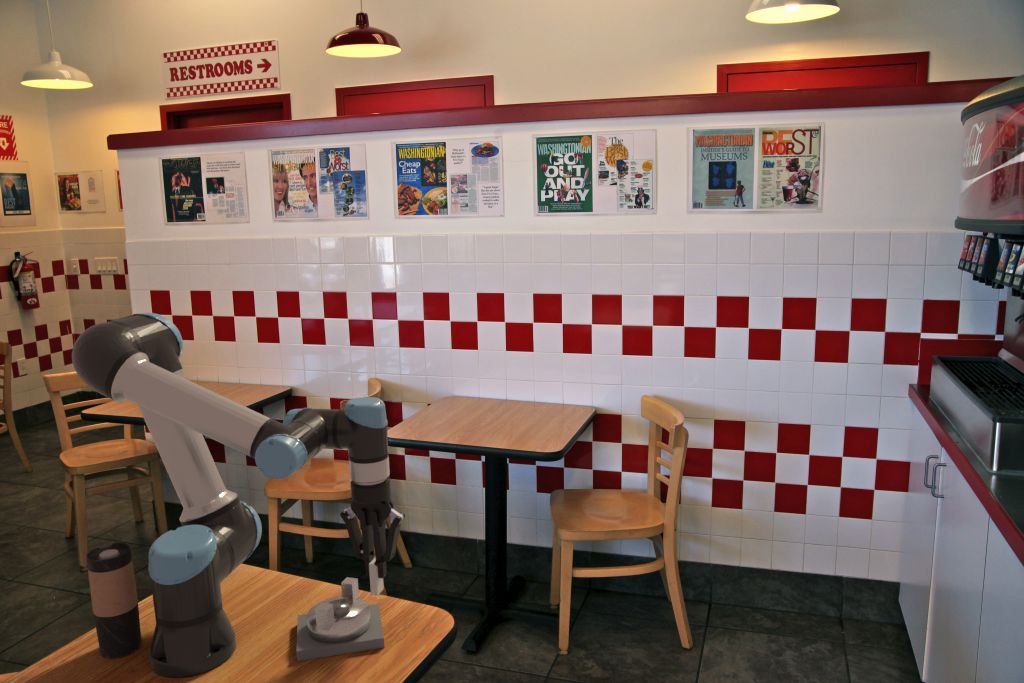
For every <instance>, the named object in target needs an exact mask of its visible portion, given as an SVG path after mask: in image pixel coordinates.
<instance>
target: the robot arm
mask: <svg viewBox="0 0 1024 683" xmlns="http://www.w3.org/2000/svg"><path fill="white" fill-rule="evenodd" d="M72 347H73V348H72V352H71V362H72V366H73V369H74V371H75V372H76V375H77V377H79V378H80V379H81V381H82V382H83V383H84V384H85V385H86V386H88V387H89V388H90V389H92V390H94V391H95V392H97V393H99V395H102V396H104V397H106V398H109V399H111V400H113V401H115V402H117V403H123V402H126V401H129V402H131V403H133V404H135V405H137V407H138V408H139V411H140V413H141V415H142V417H143V420H144V423H145V424H146V427H147V429H148V431H149V434H150V435H151V438H152V440H153V442H154V445H155V447H156V449H157V451H158V454H159V456H160V458H161V461H162V463H163V466H164V467H165V470H166V472H167V474H168V476H169V479H170V480H171V483H172V486H173V487H174V490H175V492H176V495H177V497H178V499H179V501H180V503H181V505H182V507H183V509H182V512H181V515H180V516H179V522H180V524H181V526H178V527H177V528H176V529H175V530H173V529H170V530H168V531H166V532H165V533H163V534H161V535H160V536H159V537H158V538H156V539H155V541H154V542H153V543H152V544H151V546H150V548H149V551H148V566H147V569H148V570H147V571H148V575H149V579H150V585H151V592H152V593H151V594H152V601H153V609H154V616H155V627H154V631H153V635H152V639H151V642H150V646H149V651H148V654H149V662H150V663H149V664H150V668H151V670H152V671H154V672H155V673H156V674H158V675H160V676H163V677H169V678H170V677H171V678H185V677H189V676H190V677H191V676H195V675H199V674H202V673H204V672H205V673H206V672H207V671H210V670H213V669H215V668H216V667H219V666H220V665H222V664H223V663H224V662H226V661H227V660H228V659H230V657H231V656H232V655H233V654H234V652H235V650H236V648H237V638H236V632H235V629H234V627H233V626H232V623H231V621H230V620H229V617H228V616H227V614H226V611H225V610H224V608H223V607H224V606H223V599H222V588H221V584H222V582H223V581H224V580H225V579H226V578H228V576H230V575H231V574H232V572H234V571H235V570H236V569H237V568H238V567H239V566H240V565H241V564H242V563H244V562H245V561H247V560H248V559H249V558H250V557H251V555H252V554H253V552H254V551H255V550H256V548H257V547H258V545H259V544H260V540H261V538H262V532H263V530H262V529H263V528H262V526H263V525H262V521H261V518H260V517H259V514H258V513H257V510H255V508H253V507H252V506H251V505H250V506H249V505H248V504H247V503H246V502H245V501H242V500H240V498H239V496H238V494H237V493H236V492H234V491H231V490H229V489H227V488H226V486H225V484H224V481H223V479H222V477H221V475H220V473H219V470H218V467H217V466H216V463H215V460H214V458H213V456H212V454H211V452H210V449H209V446H208V444H207V442H206V440H205V437H206V438H209V439H211V440H214V441H216V442H218V443H220V444H222V445H224V446H227V447H228V448H231V449H233V450H235V451H238V452H240V453H242V454H243V455H246V456H248V457H250V458H252V459H254V460H255V465H256V467H257V469H258V470H259V471H260V472H261V473H262V474H263V476H265V477H267V478H268V479H271V480H284V479H286V478H289V477H291V476H292V475H294V474H295V473H298V472H299V471H300V470H302V469H303V467H304V466H305V465H306V464H307V463H308V462H309V461H310V460H311V459H313V458H314V457H315V456H317V455H318V454H319V453H320V452H322V451H323V450H326V449H327V450H347V454H348V464H349V466H348V468H349V479H350V480H351V481H350V495H351V500H352V501H351V503H350V506H348V507H346V508H345V509H344V510H342V511H341V512H340V514H339V516H340V518H341V519H342V521H343V522H344V523H345V527H346V530H347V533H348V536H349V540H350V544H351V547H352V551H353V554H354V556H355V558H356V559H359V560H360V559H361V560H363V562H364V567H365V576H366V577H367V578H369V584H370V587H369V588H370V595H371V596H379V595H380V594H381V593H382V591H383V590H384V589H385V586H384V578H385V577H386V576H387V563H389V562H390V561H391V560H392V559H393V558H394V556H396V552H397V546H398V541H399V540H398V539H399V535H400V534H399V533H400V530H401V524H402V522H403V521H404V519H405V518H406V514H405V513H404V512H398V511H397V510H396V509H394V507H395V506H394V505H393V503H392V500H391V498H392V497H391V496H392V492H391V491H392V489H391V486H392V485H391V478H390V474H391V473H390V472H391V470H390V457H389V440H388V439H389V438H388V424H389V423H388V419H387V412H386V403H385V402H384V401H383V400H382V398H381V399H380V398H378V397H373V396H364V397H355V398H352V399H349V400H348V401H347V402H346V403H345V405H344V409H339V408H336V409H333V408H331V409H329V408H311V407H303V408H294V409H290V410H289V411H287V413H286V414H285V417H284V418H283V421H282V422H280V421H277V420H275V419H273V418H271V417H268V416H266V415H264V414H262V413H260V412H258V411H255V410H253V409H251V408H249V407H247V406H245V405H242V404H240V403H238V402H236V401H234V400H232V399H230V398H228V397H226V396H223V395H221V394H219V393H217V392H215V391H212V390H210V389H208V388H206V387H204V386H202V385H200V384H198V383H196V382H193V381H191V380H189V379H187V378H184V377H183V376H182V374H183V372H184V368H183V366H182V363H181V361H180V357H181V355H182V350H183V348H184V342H183V338H182V335H181V331H180V330H179V328H178V327H177V326H176V324H174V323H173V322H172V320H170V319H169V318H167V317H165V316H163V315H161V314H159V313H155V312H142V313H134V314H129V315H127V316H123V317H120V318H117V319H113V320H109V321H106V322H100V323H97V324H94V325H91V326H90V327H88V328H86V329H85V330H84V331H83V332H81V334H79V335H78V338H76V340H75V341H74V344H73V346H72ZM204 436H205V437H204ZM389 517H390V520H389V522H390V527H389V530H388V535H387V537H386V526H387V520H388V518H389ZM386 538H387V540H386Z"/></svg>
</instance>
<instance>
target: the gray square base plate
mask: <svg viewBox="0 0 1024 683" xmlns="http://www.w3.org/2000/svg"><path fill="white" fill-rule="evenodd" d="M369 606H370V617H371V623H370V626H369V628H368V629H367V630H366V631H365V632H364V633H362V634H361V635H359V636H357V637H355V638H353V639H350V640H346V641H342V642H322V641H318V640H316V639H314V638H312V637H311V636H310V635H309V633H308V627H307V613H305V614H304V613H303V614H297V623H296V624H297V625H296V626H297V627H296V629H297V630H296V648H295V649H296V662H301V661H306V660H308V661H309V660H315V659H320V658H321V659H322V658H326V657H332V656H339V655H344V654H345V655H346V654H351V653H359V652H364V651H369V650H370V651H371V650H376V649H382V648H385V636H384V631H383V625H382V624H383V623H382V617H381V611H380V605H379V603H373V604H369Z"/></svg>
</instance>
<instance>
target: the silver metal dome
mask: <svg viewBox="0 0 1024 683" xmlns="http://www.w3.org/2000/svg"><path fill="white" fill-rule="evenodd" d="M340 585H341V586H340V587H341V596H335V597H330V598H327V599H324V600H321V601H319V602H318V603H316V604H314V605H313V606H312V607H311V608H310V609H309V610H308V612H307V613H306V614H307V627H308V633H309V635H310V636H311V637H312V638H314V639H316V640H318V641H322V642H342V641H346V640H350V639H353V638H355V637H357V636H359V635H361V634H362V633H364V632H365V631H366V630H367V629H368V628H369V626H370V623H371V617H370V606H369V605H370V604H369V602H367V601H366V600H365V599H362V598H360V594H359V592H360V591H359V578H356V577H348V576H346V578H344V580H342V581H341V583H340Z"/></svg>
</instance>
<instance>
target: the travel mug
mask: <svg viewBox="0 0 1024 683" xmlns="http://www.w3.org/2000/svg"><path fill="white" fill-rule="evenodd" d="M133 564H134V563H133V556H132V549H131V545H130V544H128V543H127V542H113V543H112V544H111V545H108V546H105V547H101V546H96V547H94V548H92V549H90V550H89V551H88V552H87V554H86V565H87V573H88V574H87V575H88V582H89V590H90V598H91V606H92V612H93V620H94V625H95V630H96V634H97V635H96V636H97V640H98V641H97V642H98V647H99V648H98V649H99V651H100V655H101V656H102V657H103V658H104V659H105V658H106V659H119V658H122V657H126V656H129V655H130V654H133V653H135V652H136V651H137V650H139V649H140V647H141V646H142V634H141V633H142V632H141V622H140V621H141V620H140V611H139V599H138V598H139V597H138V593H137V592H138V591H137V585H136V577H135V570H134V565H133ZM135 650H136V651H135Z"/></svg>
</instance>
